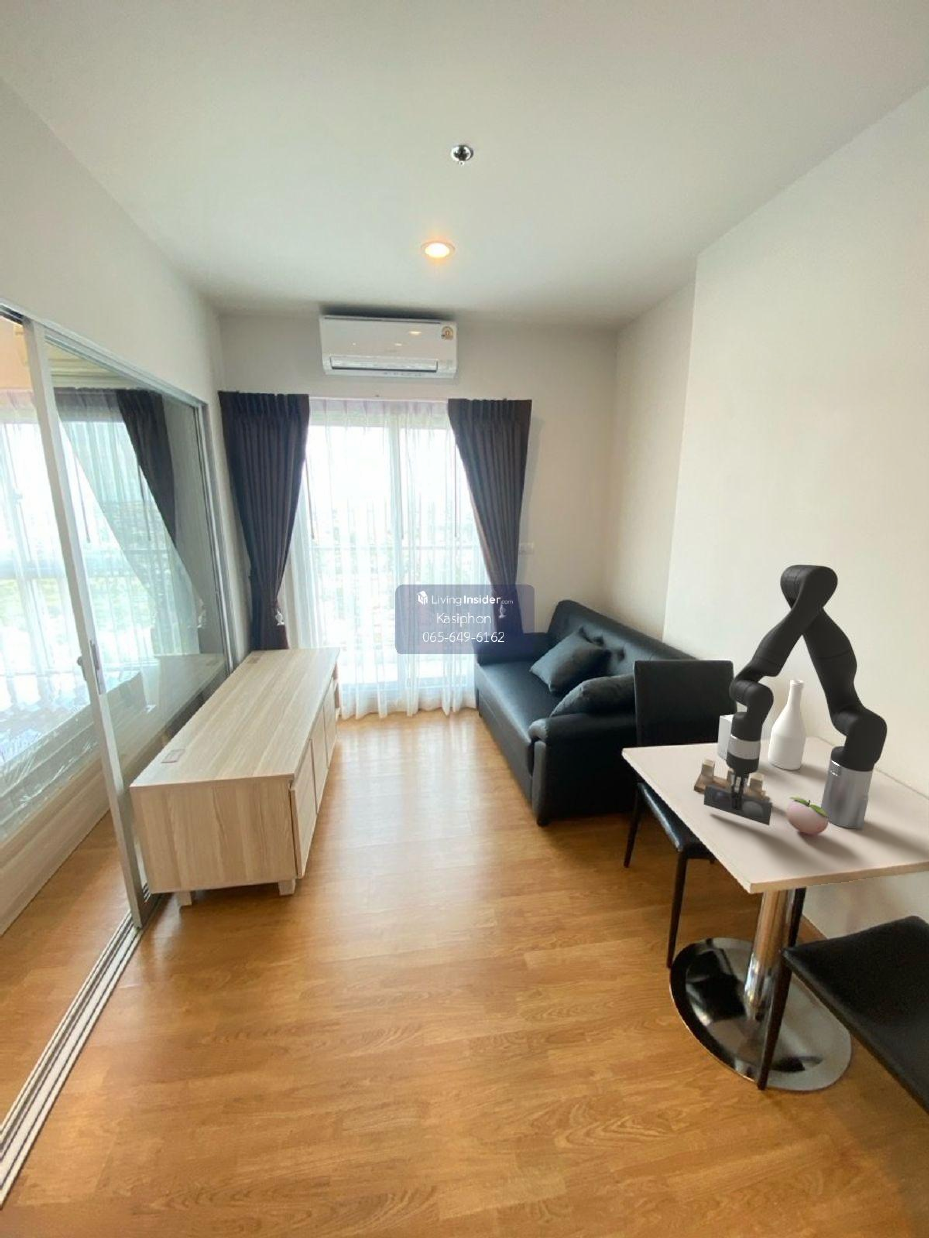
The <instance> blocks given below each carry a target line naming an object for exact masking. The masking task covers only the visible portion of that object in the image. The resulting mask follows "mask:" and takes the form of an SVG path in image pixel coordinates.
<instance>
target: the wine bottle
mask: <svg viewBox="0 0 929 1238" xmlns="http://www.w3.org/2000/svg"><path fill="white" fill-rule="evenodd" d="M789 683H790V684H789V693H788V698H787V703H786V705H785V706H784V708H783V709H782V711H781V713H780V715H779V716H778V717H777V719H776V720H775V722H774V724H773V725H772V727H771V728H772V729H771V735H770V740H769V746H768V752H767V760H768V762H769V763H770V764H771V765H773V766H775V767H777V768H780V769H783V770H789V771H795V770H798V769H800V767H801V766H802V763H803V757H804V751H805V746H806V742H807V741H806V740H807V733H806V727H805V724H804V718H803V715H802V709H801V702H802V701H801V700H802V694H803V693H802V691H803V689H804V687H805V683H804V681H803V680H801V679H796V678H793V679H791V681H790V682H789Z"/></svg>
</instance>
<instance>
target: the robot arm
mask: <svg viewBox="0 0 929 1238" xmlns="http://www.w3.org/2000/svg"><path fill="white" fill-rule="evenodd" d="M779 581H780V583H779V585H780V586H779V587H780V589H781V593H782V595H783V597H784V599H785V601H786V603H787V605H788V606H789V608H790V610H789V611H788V613H786V615H785V617H783V618H782V619H781V620H780V621H779V622H778V623H777V624H776V625H775V626H774V627H772V628H771V629H770V630H769V631H768V632H767V633H766V634H765V635H764V637H763V638H762V639H761V640H760V642H759V644H758V646H757V648H756V649H755V652H754V653H753V656H752V657H751V659H750V661H749V662H748V663H747V664H746V665H745V666H744V667H743V668H742V669H741V670H740V671H739V672H738V673H737V675H735V676H734V678H733V679H732V680H731V682H730V684H729V687H728V692H729V696H730V698H731V699H732V700H733V701H734V702H736V703H738V704H740V705H742V706H745V707H746V711H736V712H735V713H734V714H732V715H733V718H732V725H731V733H730V737H729V741H728V749H727V758H726V760H725V763H726V765H727V766H728V768H729V767H730V768H731V769H733V773H732V775H731V780H732V783H731V798H732V806H731V808H732V809H734V810H738V811H740V810H741V803H742V799H743V794H744V793H745V791H746V787H747V786H748V783H749V780H750V779H749V778H750V776H751V775H750V774H752V773H754V772H755V773H757V771H758V769H759V762H760V756H761V755H760V754H761V748H762V741H761V740H762V732H763V726H764V724H765V721H766V719H767V717H768V715H769V713H770V711H771V709H772V707H773V705H774V701H775V698H774V693H773V691H772V689H771V688H770V687H768V686H767V685H765V684H764V683H763V684H762V683H760V681H761V680H762V679H763V678H764V677H770V678H776V677H778V676H779V675H780V674H781V672H782V670H783V669H784V667H785V664H786V662H787V661H788V659H789V657H790V655H791V653H792V652H793V650H794V648H795V646H796V645H797V643H798V641H799V640H800V639H801V638H803V641H804V643H805V646H806V648H807V653H808V654H809V657H810V660H811V662H812V665H813V667H814V670H815V673H816V675H817V678H818V681H819V683H820V686H821V688H822V690H823V693H824V696H825V700H826V701H825V702H826V704H827V710H828V714H829V718H830V721H831V724H832V726H833V727H834V728H835V730H836V731H837V732H839V733H840V734H841V735H843V736H844V737H846V738H845V741H844V744H843V745H839V746H837V745H836V746H835V747H833V748H832V749H831V752H830V757H829V761H828V762H829V763H828V767H827V773H826V778H825V784H824V788H823V794H822V800H821V803H820V804H821V805H820V808H822V809H823V810H824V811H825V813H826V814H827V816H828V818H829V819H828V822H830V823H832V824H834V825H836V826H839V827H842V828H847V829H858V830H862V829H863V826H864V821H865V818H866V817H865V816H866V812H867V806H868V803H869V791H870V787H871V786H870V785H871V782H872V777H873V773H874V768H875V765H876V764H878V762H879V760H880V759H881V756H882V752H883V751H884V746H885V743H886V738H887V736H888V726H887V721H886V720H885V719H884V718H883V717H882V716H881V715H879V714H877V713H875V712H874V711H873V710H870V709H869V708H867V707H865V706H864V704H863V703H862V701H861V699H860V697H859V695H858V693H857V690H856V687H855V677H856V675H857V670H858V661H857V657H856V654H855V650H854V649H853V645H852V643H851V640H850V639H849V637H848V636H847V635H846V633H845V631H843V629H842V628H841V627H840V626H839V625H838V624H837V623H836V622H835V621H834V620H833V619H832V618H831V616H830V615H829V614H828V613H827V611H826V610H825V606H826V605H827V603H828V602H829V601H830V600H831V598H832V597H833V595H834V594H835V592H836V591H837V588H838V584H839V579H838V575H837V573H836V571H834V569H833V568H831V567H829V566H826V565H825V566H824V565H817V564H795V565H794V564H793V565H790V566H788V567H786V568H785V569H784V570H783V572H782V573H781V576H780V580H779Z"/></svg>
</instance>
